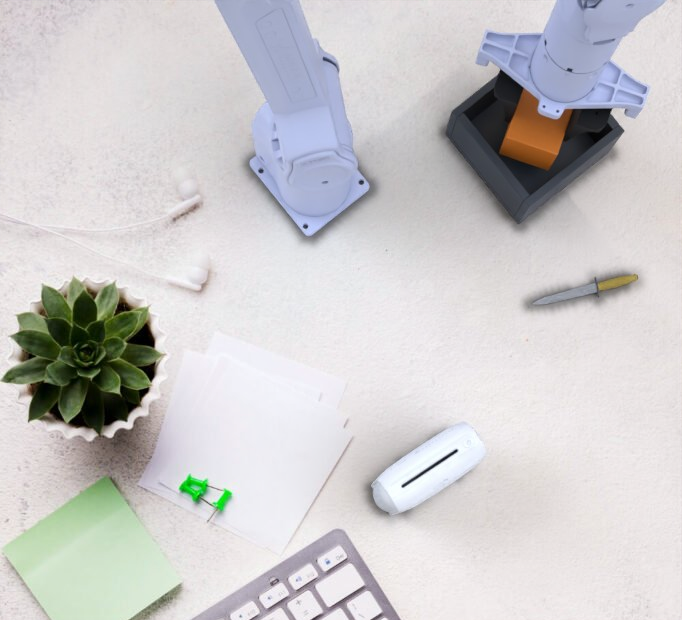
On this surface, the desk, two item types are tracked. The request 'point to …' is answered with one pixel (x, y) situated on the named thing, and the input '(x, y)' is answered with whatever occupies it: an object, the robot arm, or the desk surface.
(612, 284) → the dagger
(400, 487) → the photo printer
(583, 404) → the desk surface
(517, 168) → the bin
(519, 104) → the block
